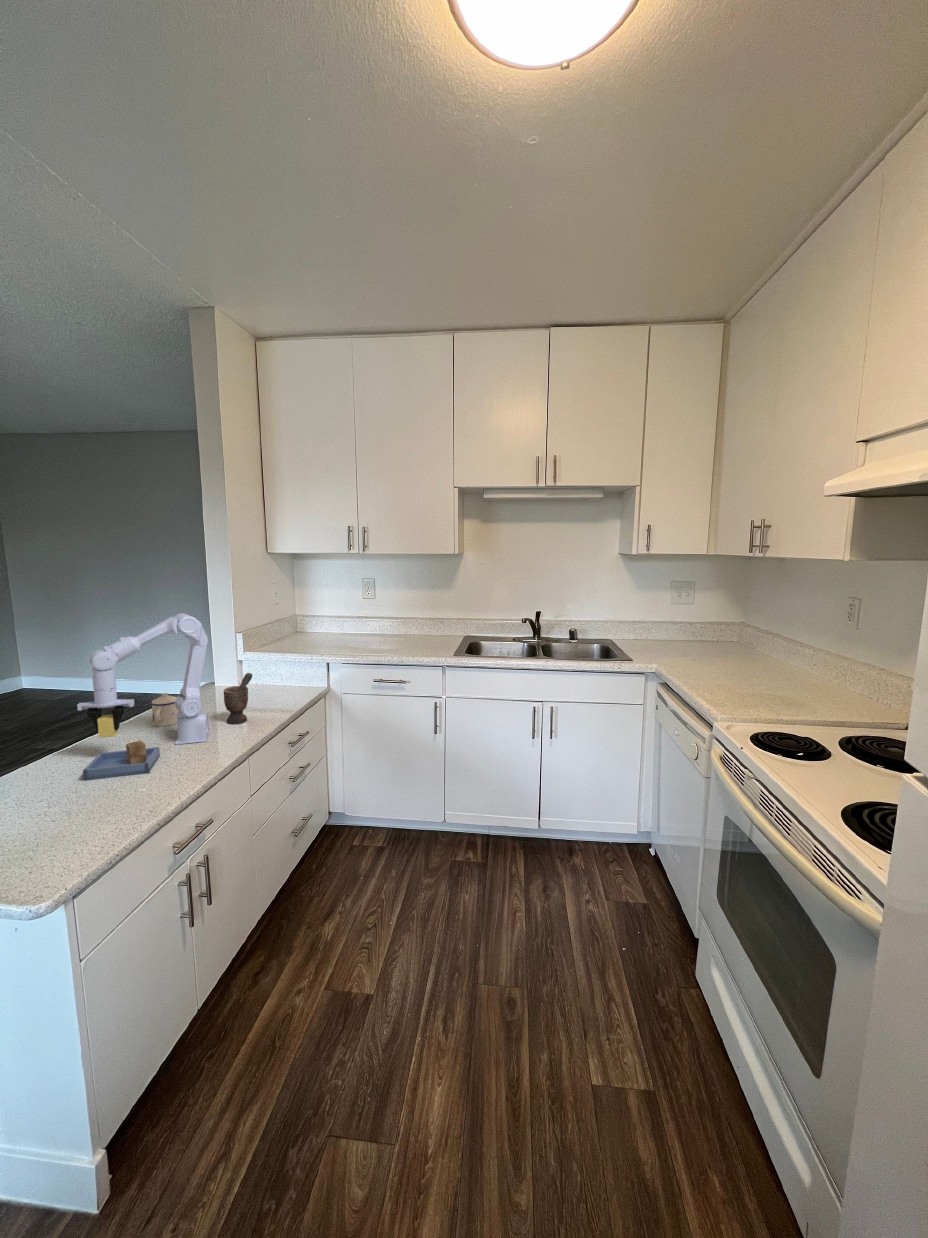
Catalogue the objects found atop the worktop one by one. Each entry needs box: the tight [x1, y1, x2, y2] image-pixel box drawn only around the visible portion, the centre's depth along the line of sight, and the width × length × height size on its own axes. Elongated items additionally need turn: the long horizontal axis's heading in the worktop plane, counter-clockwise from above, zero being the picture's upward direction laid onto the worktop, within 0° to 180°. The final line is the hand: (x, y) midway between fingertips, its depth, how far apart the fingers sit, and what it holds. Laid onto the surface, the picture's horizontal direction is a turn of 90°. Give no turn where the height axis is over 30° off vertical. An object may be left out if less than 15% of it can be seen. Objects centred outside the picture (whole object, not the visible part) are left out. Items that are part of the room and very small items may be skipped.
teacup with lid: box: [150, 692, 179, 727], centre depth 183 cm, size 12×9×12 cm
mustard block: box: [97, 713, 119, 739], centre depth 153 cm, size 4×4×6 cm
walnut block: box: [125, 740, 147, 764], centre depth 147 cm, size 4×4×6 cm
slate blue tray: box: [82, 746, 161, 782], centre depth 146 cm, size 16×13×3 cm
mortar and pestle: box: [223, 672, 253, 725], centre depth 187 cm, size 12×9×20 cm
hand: (108, 730), depth 153 cm, fingers closed on mustard block, 4 cm apart
